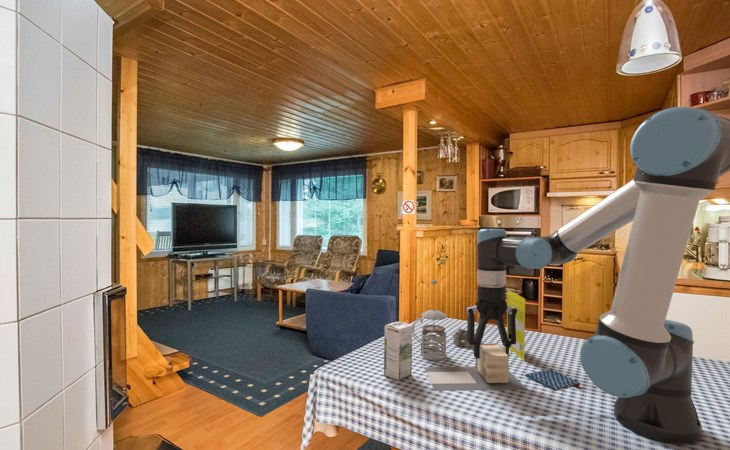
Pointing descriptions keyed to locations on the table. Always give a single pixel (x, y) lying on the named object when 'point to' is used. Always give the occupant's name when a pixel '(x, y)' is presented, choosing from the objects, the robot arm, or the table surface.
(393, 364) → the syrup box
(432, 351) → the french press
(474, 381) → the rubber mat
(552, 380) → the woven mat
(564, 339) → the table surface
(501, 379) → the maple block
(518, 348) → the food package
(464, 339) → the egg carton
